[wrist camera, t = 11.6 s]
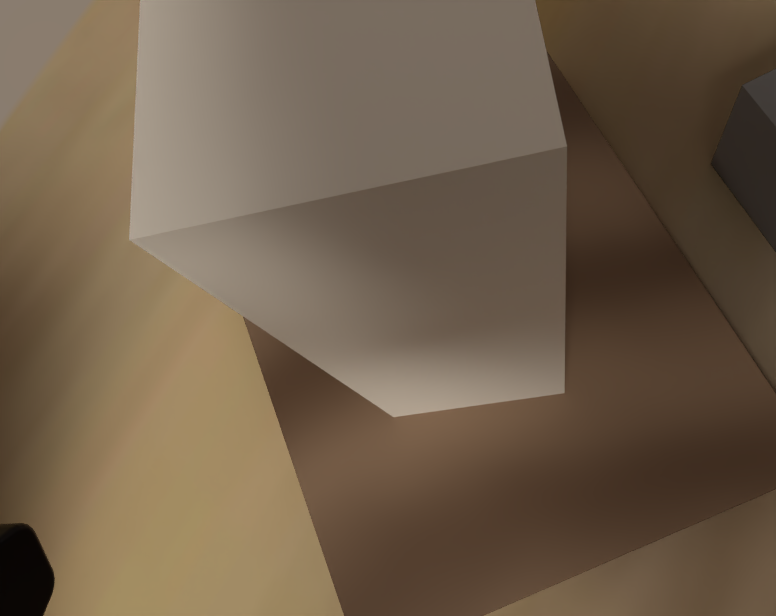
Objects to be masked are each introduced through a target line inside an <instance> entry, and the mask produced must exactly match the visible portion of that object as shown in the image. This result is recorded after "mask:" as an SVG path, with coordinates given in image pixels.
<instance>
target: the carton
mask: <svg viewBox="0 0 776 616" xmlns="http://www.w3.org/2000/svg"><path fill="white" fill-rule="evenodd" d="M566 204H567V144H566V139H565V135H564V130H563V125H562V121H561V116H560V112H559V107H558V102H557V98H556V93H555V89H554V84H553V80H552V75H551V70H550V66H549V61H548V57H547V52H546V47H545V43H544V38H543V34H542V29H541V25H540V20H539V15H538V11H537V6H536V2H535V0H140V15H139V37H138V59H137V81H136V103H135V125H134V146H133V168H132V190H131V212H130V234H129V240H130V241H132V242H133V243H135V244H136V245H138V246H139V247H141V248H142V249H143V250H145V251H146V252H148V253H149V254H151V255H152V256H154V257H155V258H157V259H158V260H160V261H161V262H163V263H164V264H166V265H167V266H169V267H170V268H172V269H173V270H175V271H176V272H178V273H179V274H181V275H182V276H184V277H185V278H187V279H188V280H190V281H191V282H193V283H194V284H196V285H197V286H199V287H200V288H202V289H203V290H205V291H206V292H208V293H209V294H211V295H212V296H214V297H215V298H217V299H218V300H220V301H221V302H223V303H224V304H225V305H227V306H228V307H230V308H231V309H233V310H234V311H236V312H237V313H239V314H240V315H242V316H243V317H245V318H246V319H248V320H249V321H251V322H252V323H254V324H255V325H257V326H258V327H260V328H261V329H263V330H264V331H266V332H267V333H269V334H270V335H272V336H273V337H275V338H276V339H278V340H279V341H281V342H282V343H284V344H285V345H287V346H288V347H290V348H291V349H293V350H294V351H296V352H297V353H299V354H300V355H302V356H303V357H304V358H306V359H307V360H309V361H310V362H312V363H313V364H315V365H316V366H318V367H319V368H321V369H322V370H324V371H325V372H327V373H328V374H330V375H331V376H333V377H334V378H336V379H337V380H339V381H340V382H342V383H343V384H345V385H346V386H348V387H349V388H351V389H352V390H354V391H355V392H357V393H358V394H360V395H361V396H363V397H364V398H366V399H367V400H369V401H370V402H372V403H373V404H375V405H376V406H378V407H379V408H381V409H382V410H384V411H385V412H386V413H388V414H389V415H391V416H392V417H398V416H406V415H413V414H420V413H427V412H434V411H441V410H448V409H455V408H462V407H470V406H477V405H484V404H491V403H498V402H505V401H512V400H519V399H527V398H534V397H541V396H548V395H555V394H562V393H565V303H566Z"/></svg>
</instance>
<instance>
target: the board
mask: <svg viewBox="0 0 776 616" xmlns="http://www.w3.org/2000/svg"><path fill="white" fill-rule="evenodd" d="M546 52H547V51H546ZM547 57H548V61H549V66H550V70H551V75H552V80H553V84H554V89H555V93H556V98H557V102H558V107H559V112H560V116H561V121H562V125H563V130H564V135H565V139H566V144H567V204H566V303H565V393H562V394H555V395H548V396H541V397H534V398H527V399H519V400H512V401H505V402H498V403H491V404H484V405H477V406H470V407H462V408H455V409H448V410H441V411H434V412H427V413H420V414H413V415H406V416H398V417H392V416H391V415H389V414H388V413H386V412H385V411H384V410H382V409H381V408H379V407H378V406H376V405H375V404H373V403H372V402H370V401H369V400H367V399H366V398H364V397H363V396H361V395H360V394H358V393H357V392H355V391H354V390H352V389H351V388H349V387H348V386H346V385H345V384H343V383H342V382H340V381H339V380H337V379H336V378H334V377H333V376H331V375H330V374H328V373H327V372H325V371H324V370H322V369H321V368H319V367H318V366H316V365H315V364H313V363H312V362H310V361H309V360H307V359H306V358H304V357H303V356H302V355H300V354H299V353H297V352H296V351H294V350H293V349H291V348H290V347H288V346H287V345H285V344H284V343H282V342H281V341H279V340H278V339H276V338H275V337H273V336H272V335H270V334H269V333H267V332H266V331H264V330H263V329H261V328H260V327H258V326H257V325H255V324H254V323H252V322H251V321H249V320H248V319H246V318H245V317H243V318H244V321H245V324H246V327H247V329H248V332H249V335H250V338H251V341H252V344H253V347H254V350H255V353H256V356H257V359H258V362H259V365H260V368H261V371H262V374H263V377H264V380H265V383H266V386H267V389H268V392H269V395H270V397H271V400H272V403H273V406H274V409H275V412H276V415H277V418H278V421H279V424H280V427H281V430H282V433H283V436H284V439H285V442H286V445H287V448H288V451H289V454H290V457H291V460H292V463H293V466H294V468H295V471H296V474H297V477H298V480H299V483H300V486H301V489H302V492H303V495H304V498H305V501H306V504H307V507H308V510H309V513H310V516H311V519H312V522H313V525H314V528H315V531H316V534H317V536H318V539H319V542H320V545H321V548H322V551H323V554H324V557H325V560H326V563H327V566H328V569H329V572H330V575H331V578H332V581H333V584H334V587H335V590H336V593H337V596H338V599H339V602H340V604H341V607H342V610H343V613H344V616H484V615H486V614H488V613H491V612H493V611H495V610H497V609H500V608H502V607H504V606H507V605H509V604H511V603H514V602H516V601H518V600H521V599H523V598H525V597H527V596H530V595H532V594H534V593H537V592H539V591H541V590H544V589H546V588H548V587H551V586H553V585H555V584H558V583H560V582H562V581H564V580H567V579H569V578H571V577H574V576H576V575H578V574H581V573H583V572H585V571H588V570H590V569H592V568H594V567H597V566H599V565H601V564H604V563H606V562H608V561H611V560H613V559H615V558H618V557H620V556H622V555H624V554H627V553H629V552H631V551H634V550H636V549H638V548H641V547H643V546H645V545H648V544H650V543H652V542H655V541H657V540H659V539H661V538H664V537H666V536H668V535H671V534H673V533H675V532H678V531H680V530H682V529H685V528H687V527H689V526H691V525H694V524H696V523H698V522H701V521H703V520H705V519H708V518H710V517H712V516H715V515H717V514H719V513H722V512H724V511H726V510H728V509H731V508H733V507H735V506H738V505H740V504H742V503H745V502H747V501H749V500H752V499H754V498H756V497H758V496H761V495H763V494H765V493H768V492H770V491H772V490H775V489H776V393H775V392H774V390H773V389H772V387H771V386H770V384H769V383H768V381H767V380H766V378H765V377H764V375H763V374H762V372H761V371H760V369H759V368H758V366H757V365H756V363H755V362H754V360H753V359H752V357H751V356H750V354H749V353H748V351H747V350H746V348H745V347H744V345H743V344H742V342H741V341H740V339H739V338H738V336H737V335H736V333H735V332H734V330H733V329H732V328H731V326H730V325H729V323H728V322H727V320H726V319H725V317H724V316H723V314H722V313H721V311H720V310H719V308H718V307H717V305H716V304H715V302H714V301H713V299H712V298H711V296H710V295H709V293H708V292H707V290H706V289H705V287H704V286H703V284H702V283H701V281H700V280H699V278H698V277H697V275H696V274H695V272H694V271H693V269H692V268H691V266H690V265H689V263H688V262H687V260H686V259H685V257H684V256H683V254H682V253H681V251H680V250H679V248H678V247H677V245H676V244H675V242H674V241H673V239H672V238H671V236H670V235H669V233H668V232H667V230H666V229H665V227H664V226H663V224H662V223H661V221H660V220H659V218H658V217H657V215H656V214H655V212H654V211H653V209H652V208H651V206H650V205H649V203H648V202H647V200H646V199H645V197H644V196H643V194H642V193H641V191H640V190H639V188H638V187H637V186H636V184H635V183H634V181H633V180H632V178H631V177H630V175H629V174H628V172H627V171H626V169H625V168H624V166H623V165H622V163H621V162H620V160H619V159H618V157H617V156H616V154H615V153H614V151H613V150H612V148H611V147H610V145H609V144H608V142H607V141H606V139H605V138H604V136H603V135H602V133H601V132H600V130H599V129H598V127H597V126H596V124H595V123H594V121H593V120H592V118H591V117H590V115H589V114H588V112H587V111H586V109H585V108H584V106H583V105H582V103H581V102H580V100H579V99H578V97H577V96H576V94H575V93H574V91H573V90H572V88H571V87H570V85H569V84H568V82H567V81H566V79H565V78H564V76H563V75H562V73H561V72H560V70H559V69H558V67H557V66H556V64H555V63H554V61H553V60H552V58H551V57H550V55H549V54H548V52H547Z"/></svg>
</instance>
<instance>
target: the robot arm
mask: <svg viewBox="0 0 776 616" xmlns="http://www.w3.org/2000/svg"><path fill="white" fill-rule="evenodd" d="M54 580H55V578H54V572H53V569H52V567H51V565H50V563H49V561H48V559H47V556H46V554H45V552H44V550H43V548H42V546H41V544H40V541H39V539H38V537H37V535H36V533H35V531H34V530H33V529H32V528H31V527H30V526H29V525H27V524H23V523H15V524H0V616H43V615H44V612H45V610H46V607H47V605H48V603H49V600H50V598H51V595H52V593H53V589H54Z"/></svg>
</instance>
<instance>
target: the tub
mask: <svg viewBox="0 0 776 616" xmlns="http://www.w3.org/2000/svg"><path fill="white" fill-rule="evenodd" d="M711 165H712V166H713V167H714V169H715V170H716V171H717V173H718V174H719V176H720V177H721V178H722V180H723V181H724V182H725V184H726V185H727V186H728V188H729V189H730V190H731V192H732V193H733V194H734V196H735V197H736V199H737V200H738V201H739V203H740V204H741V205H742V207H743V208H744V209H745V211H746V212H747V213H748V215H749V216H750V218H751V219H752V220H753V222H754V223H755V224H756V226H757V227H758V228H759V230H760V231H761V232H762V234H763V235H764V237H765V238H766V239H767V241H768V242H769V243H770V245H771V246H772V247H773V249H774V250H775V251H776V69H774V70H772V71H770V72H768V73H766V74H764V75H762V76H760V77H758V78H756V79H754V80H752V81H750V82H748V83H746V84H744V85H742V87H741V89H740V92H739V94H738V97H737V99H736V102H735V104H734V107H733V109H732V112H731V114H730V117H729V119H728V122H727V124H726V127H725V129H724V132H723V134H722V137H721V139H720V142H719V144H718V147H717V149H716V152H715V154H714V157H713V159H712V162H711Z"/></svg>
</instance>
